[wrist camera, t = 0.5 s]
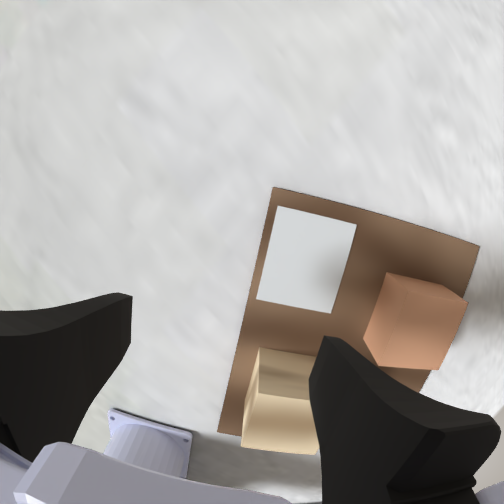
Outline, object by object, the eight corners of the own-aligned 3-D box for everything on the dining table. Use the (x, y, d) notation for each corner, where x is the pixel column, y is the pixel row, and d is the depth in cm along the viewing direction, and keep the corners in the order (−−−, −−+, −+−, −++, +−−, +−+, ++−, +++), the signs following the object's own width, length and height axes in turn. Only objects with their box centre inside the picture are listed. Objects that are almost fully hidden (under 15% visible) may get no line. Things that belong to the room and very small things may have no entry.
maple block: (307, 408, 22) (314, 454, 17) (245, 399, 22) (241, 446, 17) (328, 358, 21) (342, 403, 16) (259, 347, 20) (258, 392, 16)
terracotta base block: (418, 345, 20) (438, 370, 17) (362, 338, 20) (378, 365, 17) (442, 284, 19) (468, 303, 16) (386, 272, 19) (408, 290, 15)
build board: (383, 443, 23) (385, 446, 23) (217, 428, 23) (216, 432, 23) (476, 245, 19) (480, 246, 18) (272, 187, 18) (273, 187, 18)
